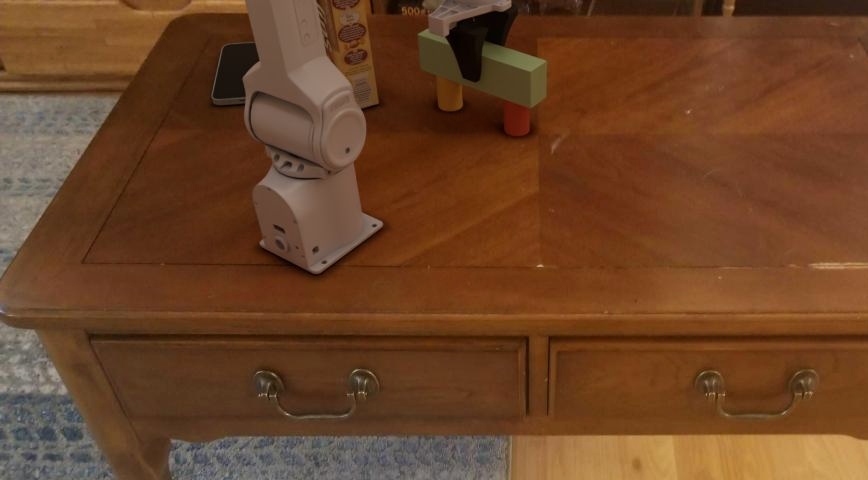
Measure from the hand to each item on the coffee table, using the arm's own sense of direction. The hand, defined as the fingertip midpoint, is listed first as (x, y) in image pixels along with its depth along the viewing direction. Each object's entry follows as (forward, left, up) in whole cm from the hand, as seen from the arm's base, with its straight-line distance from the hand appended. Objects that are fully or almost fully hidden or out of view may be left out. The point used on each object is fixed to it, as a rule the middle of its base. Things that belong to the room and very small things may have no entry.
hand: (481, 72), depth 98 cm
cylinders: (0, 0, -6) cm, 6 cm away
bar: (0, 0, -1) cm, 1 cm away
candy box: (-5, +17, -6) cm, 19 cm away
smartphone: (-9, +31, -6) cm, 33 cm away
